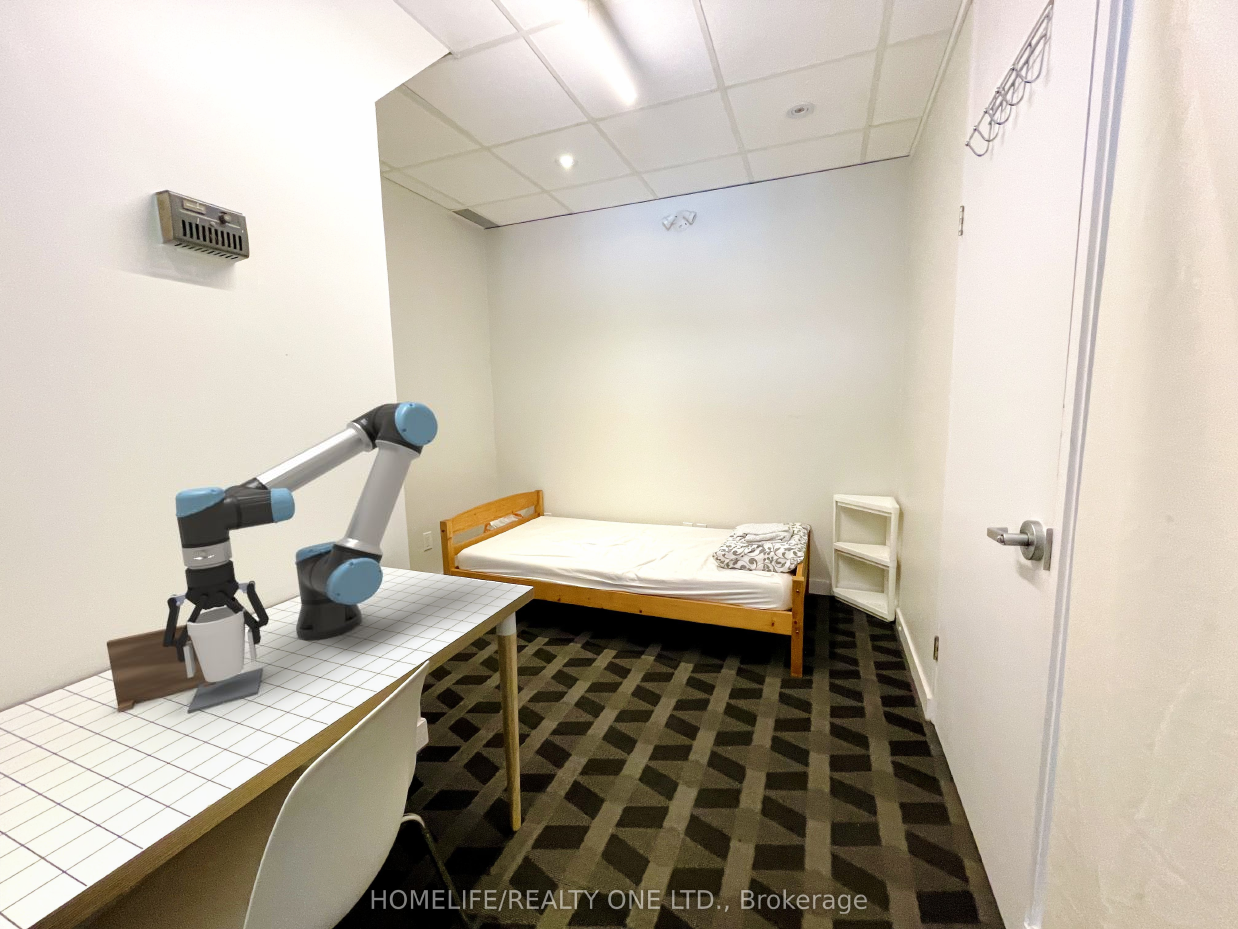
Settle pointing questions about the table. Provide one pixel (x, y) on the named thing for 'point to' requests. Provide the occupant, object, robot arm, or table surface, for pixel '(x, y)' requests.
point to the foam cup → (219, 642)
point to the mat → (226, 690)
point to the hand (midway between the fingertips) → (223, 666)
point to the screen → (149, 668)
